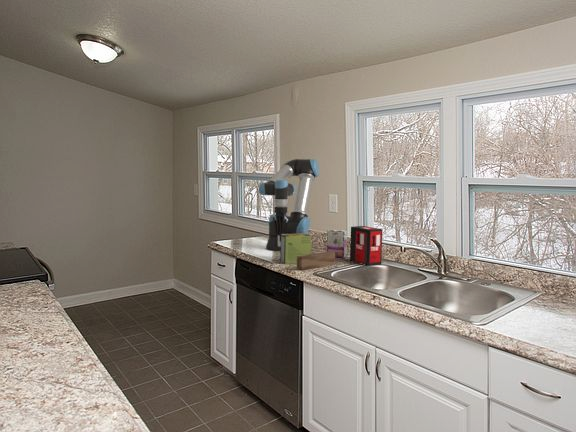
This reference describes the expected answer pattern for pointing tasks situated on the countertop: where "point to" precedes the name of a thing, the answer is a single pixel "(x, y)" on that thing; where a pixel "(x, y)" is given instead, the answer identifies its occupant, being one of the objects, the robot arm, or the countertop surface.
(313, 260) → the walnut block
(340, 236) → the candy bar box
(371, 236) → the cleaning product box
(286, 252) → the protein box
